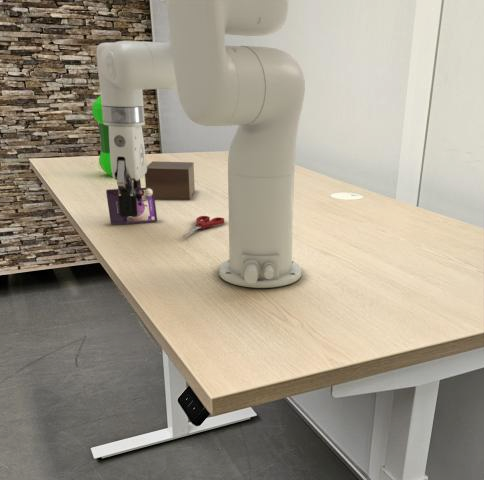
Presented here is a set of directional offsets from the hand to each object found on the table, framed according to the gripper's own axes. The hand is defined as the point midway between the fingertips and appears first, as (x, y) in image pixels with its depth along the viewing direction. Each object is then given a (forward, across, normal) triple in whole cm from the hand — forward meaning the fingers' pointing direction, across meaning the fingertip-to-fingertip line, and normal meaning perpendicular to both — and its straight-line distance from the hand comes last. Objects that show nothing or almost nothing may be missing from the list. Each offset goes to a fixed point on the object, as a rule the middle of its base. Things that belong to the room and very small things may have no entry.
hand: (131, 211), depth 115 cm
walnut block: (+2, +25, -4) cm, 25 cm away
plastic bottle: (+2, +49, +14) cm, 51 cm away
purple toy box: (+2, 0, 0) cm, 2 cm away
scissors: (+2, -6, -14) cm, 15 cm away
